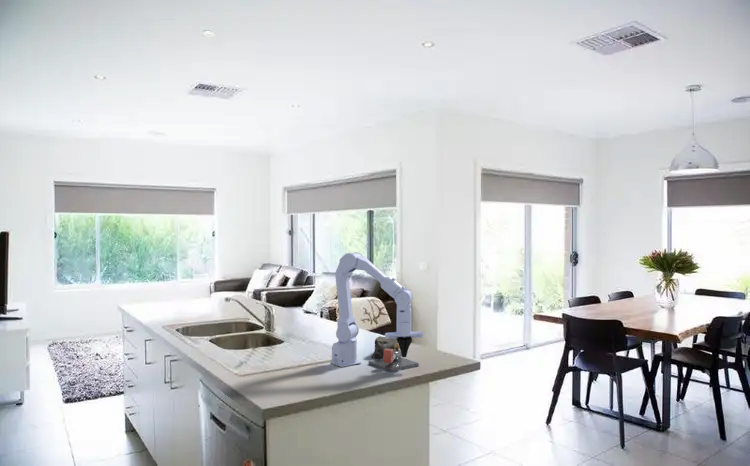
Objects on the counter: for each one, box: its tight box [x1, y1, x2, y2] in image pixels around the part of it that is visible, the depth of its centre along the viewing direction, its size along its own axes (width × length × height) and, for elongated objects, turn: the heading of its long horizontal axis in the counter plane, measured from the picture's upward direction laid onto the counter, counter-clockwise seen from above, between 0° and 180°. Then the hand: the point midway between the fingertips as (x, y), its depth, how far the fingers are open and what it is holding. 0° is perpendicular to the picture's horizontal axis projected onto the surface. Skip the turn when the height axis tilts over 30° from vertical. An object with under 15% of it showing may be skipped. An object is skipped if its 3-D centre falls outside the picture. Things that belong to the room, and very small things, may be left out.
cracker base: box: [368, 343, 420, 373], centre depth 204 cm, size 14×14×7 cm
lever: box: [383, 349, 398, 363], centre depth 204 cm, size 12×3×5 cm, turn 162°
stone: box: [370, 335, 400, 360], centre depth 222 cm, size 18×9×10 cm
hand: (404, 356), depth 200 cm, fingers closed
